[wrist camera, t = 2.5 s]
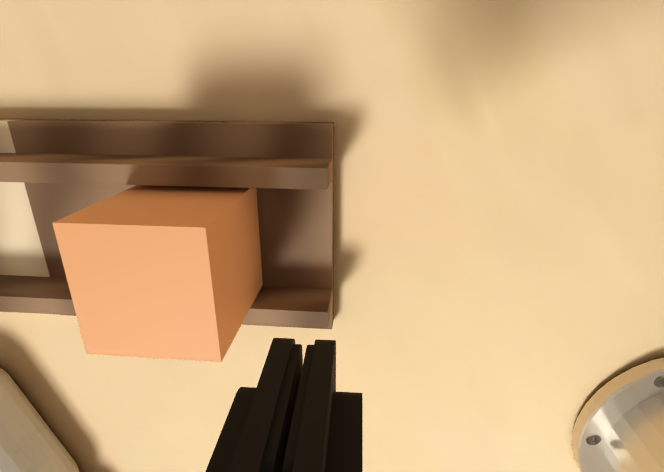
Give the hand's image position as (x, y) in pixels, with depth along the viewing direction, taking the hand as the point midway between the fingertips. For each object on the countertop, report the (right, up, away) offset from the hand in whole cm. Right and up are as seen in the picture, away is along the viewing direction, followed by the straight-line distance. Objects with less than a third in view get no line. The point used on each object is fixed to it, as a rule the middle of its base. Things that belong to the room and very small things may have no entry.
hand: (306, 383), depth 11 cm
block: (-6, +4, +12) cm, 14 cm away
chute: (-12, +5, +13) cm, 18 cm away
